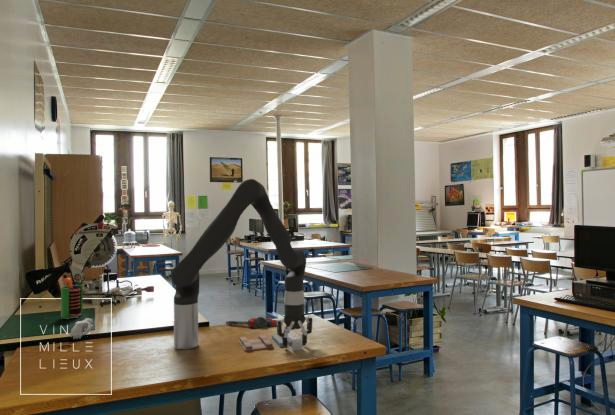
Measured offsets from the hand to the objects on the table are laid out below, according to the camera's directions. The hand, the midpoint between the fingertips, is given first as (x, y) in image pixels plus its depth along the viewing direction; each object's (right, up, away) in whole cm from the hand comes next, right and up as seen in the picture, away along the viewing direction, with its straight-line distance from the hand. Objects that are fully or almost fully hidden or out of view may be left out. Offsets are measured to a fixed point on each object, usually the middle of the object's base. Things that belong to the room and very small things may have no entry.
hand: (294, 345), depth 170 cm
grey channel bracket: (-3, -2, +8) cm, 9 cm away
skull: (-92, -3, +23) cm, 95 cm away
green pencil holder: (-114, -3, +56) cm, 128 cm away
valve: (-20, -3, +38) cm, 43 cm away
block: (-1, -1, +4) cm, 4 cm away
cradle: (-15, -2, +4) cm, 16 cm away
